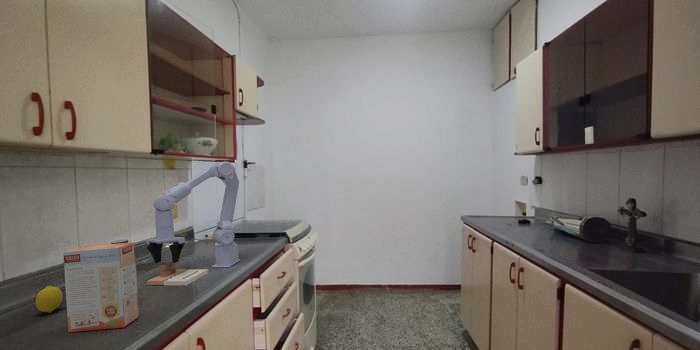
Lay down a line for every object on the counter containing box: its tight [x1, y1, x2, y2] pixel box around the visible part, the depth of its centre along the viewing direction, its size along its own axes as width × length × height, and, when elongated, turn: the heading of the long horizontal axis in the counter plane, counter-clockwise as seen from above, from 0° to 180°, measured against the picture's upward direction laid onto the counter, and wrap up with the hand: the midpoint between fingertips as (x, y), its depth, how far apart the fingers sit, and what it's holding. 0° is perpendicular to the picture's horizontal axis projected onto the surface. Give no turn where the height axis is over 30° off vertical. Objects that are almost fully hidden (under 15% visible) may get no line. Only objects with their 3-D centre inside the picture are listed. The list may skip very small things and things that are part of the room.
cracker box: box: [62, 242, 140, 333], centre depth 74 cm, size 14×6×21 cm, turn 92°
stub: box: [146, 261, 188, 286], centre depth 107 cm, size 12×6×6 cm, turn 172°
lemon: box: [35, 285, 64, 314], centre depth 84 cm, size 6×6×8 cm
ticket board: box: [163, 268, 209, 286], centre depth 106 cm, size 12×9×2 cm
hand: (166, 262), depth 107 cm, fingers open, 7 cm apart
